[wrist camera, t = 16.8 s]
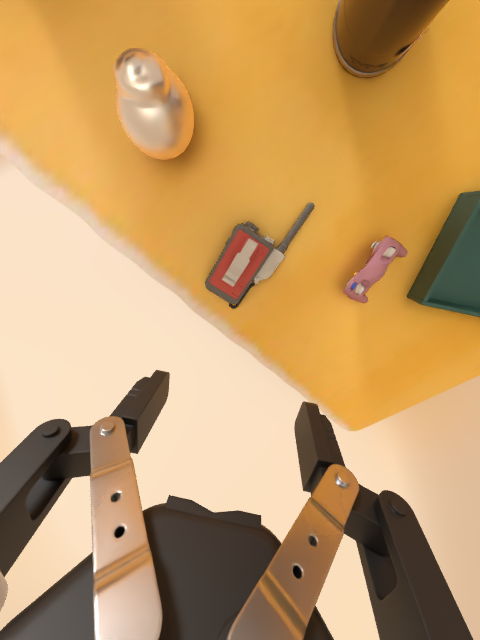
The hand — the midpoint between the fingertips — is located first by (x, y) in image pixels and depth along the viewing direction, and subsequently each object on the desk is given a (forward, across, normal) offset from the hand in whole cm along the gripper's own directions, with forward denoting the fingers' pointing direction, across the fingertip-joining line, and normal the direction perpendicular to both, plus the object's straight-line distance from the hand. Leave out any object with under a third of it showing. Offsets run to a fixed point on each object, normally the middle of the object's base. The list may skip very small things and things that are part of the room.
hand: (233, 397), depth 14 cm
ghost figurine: (+28, +16, -19) cm, 37 cm away
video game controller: (+28, -17, -6) cm, 34 cm away
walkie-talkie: (+28, +1, -5) cm, 29 cm away
